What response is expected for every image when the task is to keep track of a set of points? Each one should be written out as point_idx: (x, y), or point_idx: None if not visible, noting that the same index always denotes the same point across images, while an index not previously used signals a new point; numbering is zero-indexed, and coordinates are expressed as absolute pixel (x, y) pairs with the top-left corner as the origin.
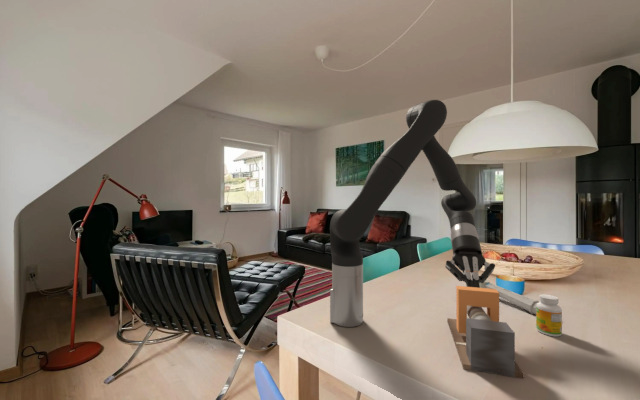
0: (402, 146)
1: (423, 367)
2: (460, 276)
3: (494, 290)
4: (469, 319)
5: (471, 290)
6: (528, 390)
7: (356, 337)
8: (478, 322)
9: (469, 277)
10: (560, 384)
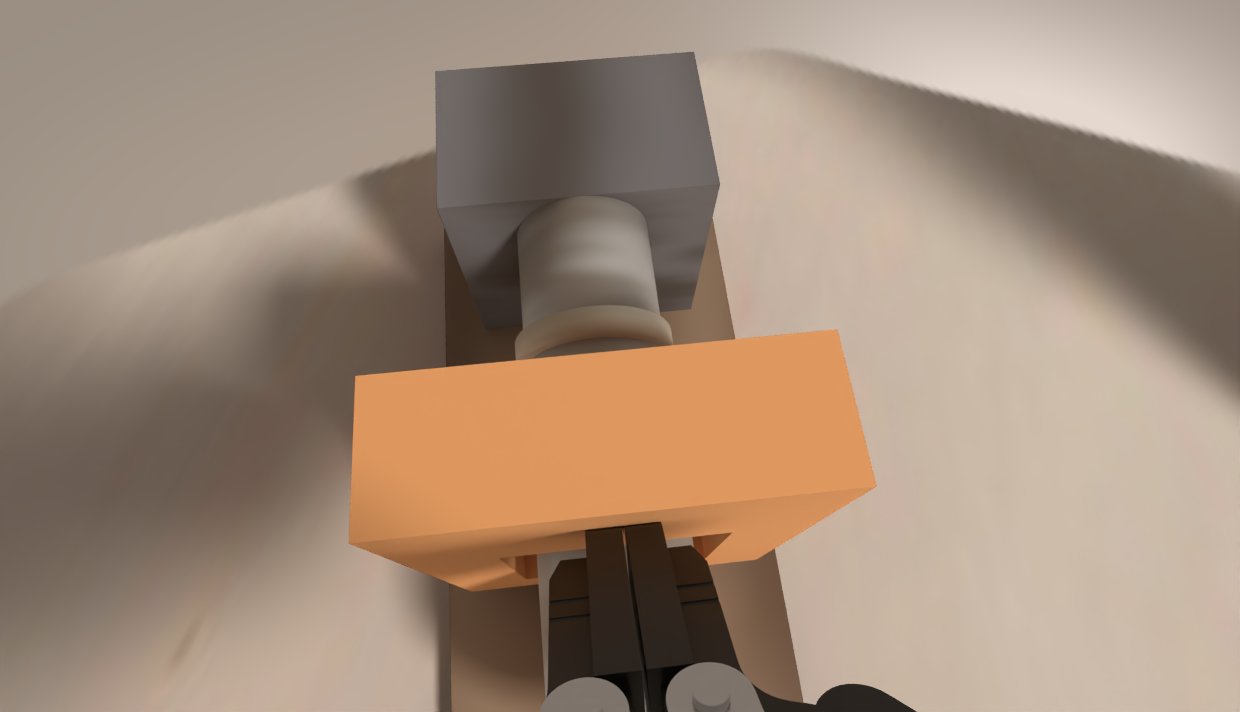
0: None
1: (877, 161)
2: (871, 691)
3: (385, 460)
4: (696, 170)
5: (683, 346)
6: None
7: None
8: (638, 141)
9: (707, 688)
10: (299, 250)
